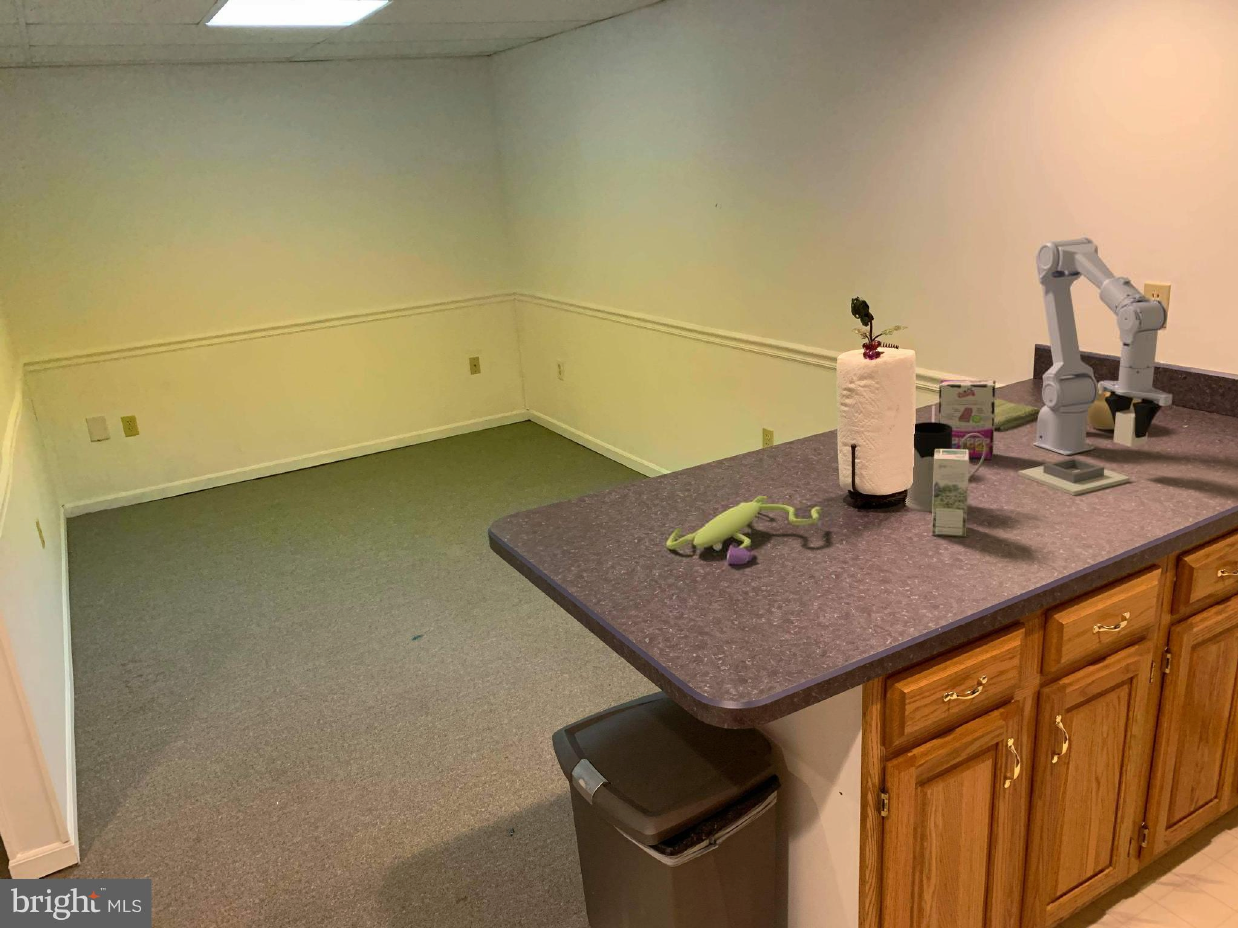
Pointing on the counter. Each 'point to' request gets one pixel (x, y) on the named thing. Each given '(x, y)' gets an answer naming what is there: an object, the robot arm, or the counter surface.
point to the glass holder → (930, 461)
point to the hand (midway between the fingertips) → (1130, 434)
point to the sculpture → (1102, 412)
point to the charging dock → (1074, 476)
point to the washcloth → (1012, 414)
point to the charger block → (1127, 429)
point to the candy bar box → (969, 414)
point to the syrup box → (950, 492)
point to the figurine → (735, 529)
